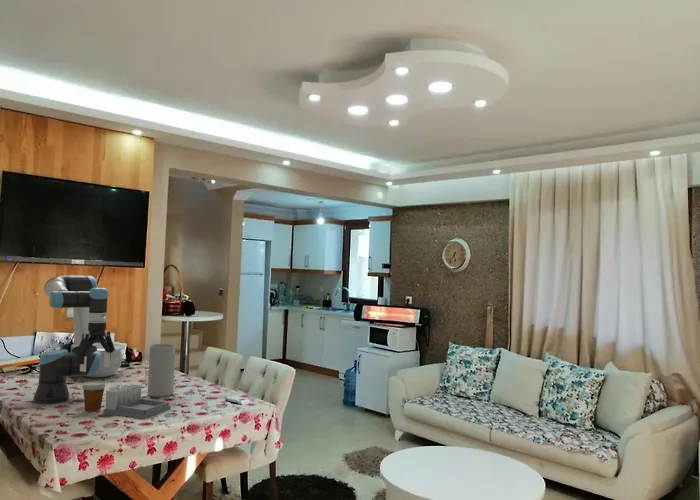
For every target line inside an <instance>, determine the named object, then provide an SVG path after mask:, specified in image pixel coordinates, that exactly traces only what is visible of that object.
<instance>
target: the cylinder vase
mask: <svg viewBox="0 0 700 500" xmlns="http://www.w3.org/2000/svg"><path fill="white" fill-rule="evenodd" d="M148 357H149V359H148V377H147V378H148V379H147V396H149V397H154V398H165V397H169V396H172V395H174V387H175V386H174V385H175V384H174V383H175V369H176V368H175V363H176V362H175V361H176V344H172V343H156V344H151V345H149V356H148Z"/></svg>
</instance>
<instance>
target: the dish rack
mask: <svg viewBox="0 0 700 500" xmlns="http://www.w3.org/2000/svg"><path fill="white" fill-rule="evenodd" d="M142 387H143V386H142V385H141V384H133V383H130V384H129V385H127V384H126V385H125V386H121V387H116V389H115V388H111V390H109V389H108V390H105V406H104V408H103V410H102V413H104V414H111V415H116V416H121V415H122V417H129V418H135V419H140V418H141V420H143V419H146V417H147V418H149V416H150V417H152V416H155V415H157V414H161V413H163V412H166V411H169V410H171V405H169V404H170V402H169V401H162V400H156V399H147V398H142Z"/></svg>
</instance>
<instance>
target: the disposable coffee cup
mask: <svg viewBox="0 0 700 500" xmlns="http://www.w3.org/2000/svg"><path fill="white" fill-rule="evenodd" d="M105 388H106V384H105V382H104V381H96V380H95V381H87V382H84V383H83V385H82V390H83V399H84V411H85V412H87V413H92V412H93V413H94V412H99V411H101V409H102V403H103V397H104V391H105Z"/></svg>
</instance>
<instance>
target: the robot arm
mask: <svg viewBox="0 0 700 500" xmlns="http://www.w3.org/2000/svg"><path fill="white" fill-rule="evenodd" d="M43 286H44V287H43V288H44V293H45V294H46V295H47V296H48V298H49V299H48V300H49V301H48V302H49V303H48V304H49V307H50V308H52V309H55V308H56V309H63V308H65V309H68V308H69V309H70V308H71V309H72V308H73V309H72V311H73V312H72V314H73V340H74V346H73V347H72V348H71V350H70V351H71V352H70V351H68V349H56V350H54V349H53V350H49V351H46V352H43V353H42V354H41V355H40V356H39V358H40V359H39V362H38V364H39V367H38V368H39V370H38V384H37V386H36V387H37V388H36V390H35V393H34V395H33V399H32V401H33V402H34V403H36V404H55V403H62V402H65V401H68V400H69V399H70V392H69V389H68V385H67V378H68V377H69V378H70V377H80V376H84V375H87V376H88V375H93V374H96V373H97V372H98V370H99V367H100V361H101V351H99V350H98V351H97V347H96V346H95V345H94V343H98V342H100V343H101V345H102V346H103V348H104V349H105V351H106V352H105V353H104V367H110V359H111V353H112V352H113V351H114V350H115V348H114V345H113V344H114V342H113V339H112V337H111V331H109V330H108V331H106V330H107V317H108V316H107V315H108V300H109V299H108V298H109V295H108V292H109V291H108V289H107V288H105V287H98V283H97V279H96V278H95V277H94V276H92V275H85V274H84V275H72V274H71V275H66V274H65V275H63V274H61V275H56V276H53V277H51V278H50V279H48V280H47V281H46V282H45V284H44V285H43ZM87 376H86V377H87Z"/></svg>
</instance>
